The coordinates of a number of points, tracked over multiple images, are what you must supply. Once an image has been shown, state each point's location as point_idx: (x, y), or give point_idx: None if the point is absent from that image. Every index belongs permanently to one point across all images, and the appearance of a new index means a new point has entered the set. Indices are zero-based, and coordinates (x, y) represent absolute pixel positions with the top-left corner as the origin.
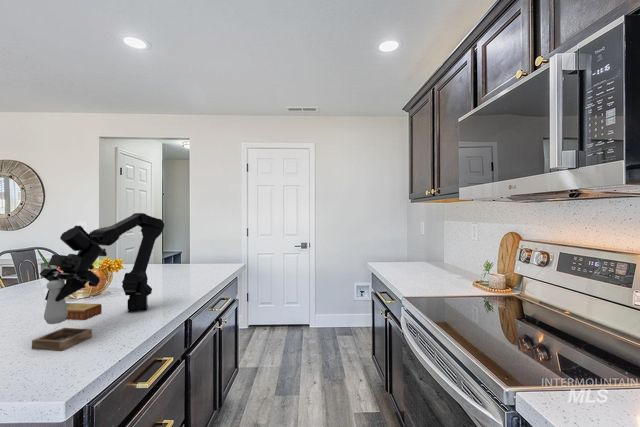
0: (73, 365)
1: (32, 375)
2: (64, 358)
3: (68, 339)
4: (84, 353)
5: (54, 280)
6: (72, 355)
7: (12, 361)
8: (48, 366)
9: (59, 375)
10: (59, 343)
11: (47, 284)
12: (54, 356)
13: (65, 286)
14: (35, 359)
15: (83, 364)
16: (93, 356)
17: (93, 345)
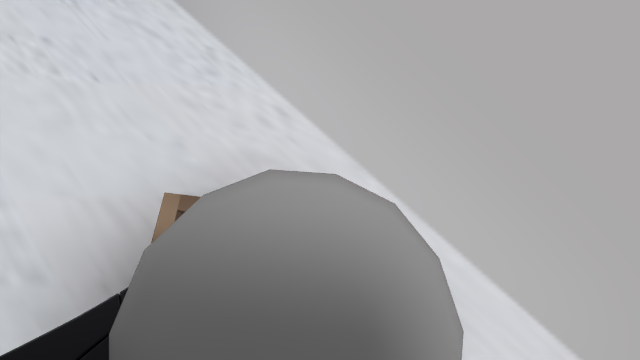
0: (45, 93)
1: (143, 43)
2: (118, 142)
3: (156, 224)
4: (60, 181)
5: (354, 350)
6: (102, 165)
7: (291, 124)
8: (134, 90)
9: (53, 38)
10: (180, 195)
11: (366, 192)
12: (170, 157)
13: (86, 342)
14: (224, 136)
15: (10, 98)
16: (3, 156)
17: (64, 261)
